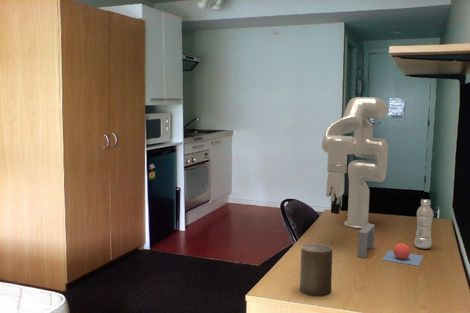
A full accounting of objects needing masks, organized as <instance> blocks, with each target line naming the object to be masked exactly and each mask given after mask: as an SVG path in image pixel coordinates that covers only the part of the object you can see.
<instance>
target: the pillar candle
mask: <svg viewBox="0 0 470 313" xmlns="http://www.w3.org/2000/svg"><path fill="white" fill-rule="evenodd" d="M300 248H301V250H300V275H299V276H300V277H299V278H300V282H299V283H300V284H299V289H300V291H301V292H302V293H304V294H306V295H311V296H318V297H319V296H326V295H328V294H329V295H330V294H331V292H332V277H333V276H332V275H333V274H332V273H333V271H332V270H333V247H332V246H331V245H329V244H325V243H320V242H319V243H318V242H314V243H313V242H312V243H311V242H310V243H305V244H302V245H301V246H300Z"/></svg>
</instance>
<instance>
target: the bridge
mask: <svg viewBox="0 0 470 313" xmlns="http://www.w3.org/2000/svg"><path fill="white" fill-rule="evenodd" d="M375 230H376V225H375V224H373V223H371V224H366V225H365V226H364V227H363V228H362V229H360V230H359V231H358V234H357V254H356V256H357V258H362V259H366V257H367V255H368V254H367V250H368V249H371V250H373V249H374V246H375Z"/></svg>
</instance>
